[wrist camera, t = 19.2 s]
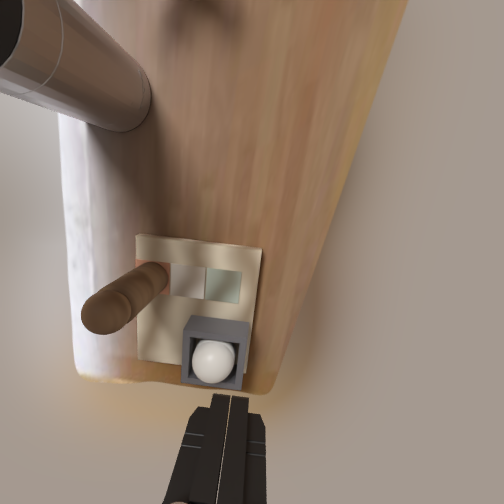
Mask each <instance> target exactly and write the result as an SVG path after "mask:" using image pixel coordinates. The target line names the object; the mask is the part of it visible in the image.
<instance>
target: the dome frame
mask: <svg viewBox="0 0 504 504" xmlns="http://www.w3.org/2000/svg"><path fill="white" fill-rule="evenodd" d="M248 330H249V322H244V321H236V320H228V319H220V318H212V317H204V316H196V315H191V316H190V318H189V320H188V322H187V324H186V325H185V327H184V329H183V343H182V367H181V383H188V384H196V385H203V386H211V387H219V388H226V389H234V390H241V387H242V379H243V371H244V363H245V355H246V347H247V339H248ZM196 338H202V339H210V340H218V341H226V342H233V343H240V345H239V354H238V363H237V365H236V364H234V365H233V368H232V371H231V372H230V374H229V375H228V376H227V377H226V378H225V379H224V380H222V381H220V382H218V383H206V382H203V381H202V380H200V379H199V378H198V377H197V376H196V374H195V373H194V370H193V367H192V357H193V354H194V351H195V349H196Z"/></svg>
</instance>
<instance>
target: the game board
mask: <svg viewBox="0 0 504 504" xmlns="http://www.w3.org/2000/svg"><path fill="white" fill-rule="evenodd" d="M261 253H262V248H257V247H248V246H240V245H232V244H224V243H216V242H207V241H199V240H191V239H183V238H174V237H166V236H158V235H150V234H142V233H141V234H138V235H136V259H135V267H136V268H137V267H138V266H140V265H142V264H143V263H146V262H155V263H158V264H160V265H161V266H162V267H163V268H164V269H165V270H166V272H167V274H168V284H167V286H166V287H165V288H164V289H163V290H162V291H161V292H160V293H159V294H158V295H157V296H156V297H155V298H154V299H153V300H152V301H151V302H150V303H149V304H148V305H147V306H146V307H145V308H144V309H143V310H142V311H141V312H140V313H138V314H137V342H138V360H146V361H154V362H161V363H169V364H177V365H182V343H183V329H184V327H185V325H186V324H187V322H188V320H189V318H190V316H191V315H196V316H204V317H212V318H220V319H228V320H236V321H244V322H249V330H248V339H247V347H246V355H245V363H244V371H243V373H246V370H247V362H248V354H249V347H250V339H251V331H252V323H253V315H254V308H255V300H256V292H257V284H258V277H259V269H260V261H261ZM200 339H201V338H196V346H197V344H198V342H199V340H200ZM233 344H234V346H235V349H236V354H235V360H234V364H236V365H237V363H238V354H239V345H240V343H233Z"/></svg>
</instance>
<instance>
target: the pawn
mask: <svg viewBox="0 0 504 504" xmlns="http://www.w3.org/2000/svg"><path fill="white" fill-rule="evenodd" d="M167 284H168V274H167V272H166V270H165V269H164V268H163V267H162V266H161V265H160V264H158V263H155V262H146V263H143V264H142V265H140V266H138V267H137V268H135V269H133V270H132V271H130V272H128V273H127V274H125V275H123V276H122V277H120V278H118V279H117V280H115V281H113V282H112V283H110V284H108V285H107V286H105V287H103V288H102V289H100V290H99V291H98V292H97V293H96V294H94V295H92V296H91V297H90V298H89V299H88V300H87V301H86V302H85V303H84V305H83V307H82V310H81V320H82V323H83V325H84V326H85V327H86V328H87V329H88V330H89V331H90V332H92V333H95V334H100V335H107V334H111V333H114V332H116V331H118V330H120V329H121V328H122V327H124V326H125V324H127V323H129V322H130V321H131V320H132V319H133V318H134V317H135V316H136V315H137V314H138V313H140V312H141V311H142V310H143V309H144V308H145V307H146V306H147V305H148V304H149V303H150V302H151V301H152V300H153V299H154V298H155V297H156V296H157V295H158V294H159V293H160V292H161V291H162V290H163V289H164V288H165V287H166V286H167Z"/></svg>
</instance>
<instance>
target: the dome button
mask: <svg viewBox="0 0 504 504" xmlns="http://www.w3.org/2000/svg"><path fill="white" fill-rule="evenodd" d="M235 354H236V349H235V346H234V344H233V342H226V341H218V340H210V339H202V338H201V339H200V340H199V342H198V344H197V346H196V349H195V351H194V354H193V357H192V367H193V370H194V373H195V374H196V376H197V377H198V378H199V379H200V380H202V381H203V382H206V383H218V382H220V381H222V380H224V379H225V378H226V377H227V376H228V375H229V374H230V372H231V371H232V368H233V365H234V360H235Z"/></svg>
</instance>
